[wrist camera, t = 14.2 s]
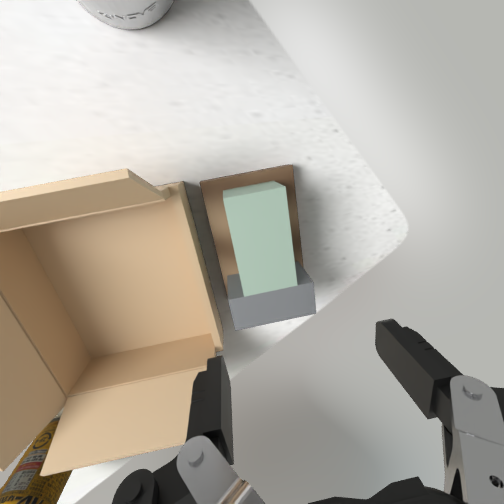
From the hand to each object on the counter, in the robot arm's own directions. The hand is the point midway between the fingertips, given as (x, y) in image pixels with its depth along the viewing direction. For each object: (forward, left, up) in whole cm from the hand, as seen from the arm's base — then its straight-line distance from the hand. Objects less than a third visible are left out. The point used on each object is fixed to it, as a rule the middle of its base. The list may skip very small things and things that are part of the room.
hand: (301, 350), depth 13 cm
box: (0, 0, -15) cm, 15 cm away
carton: (+1, -15, -17) cm, 22 cm away
